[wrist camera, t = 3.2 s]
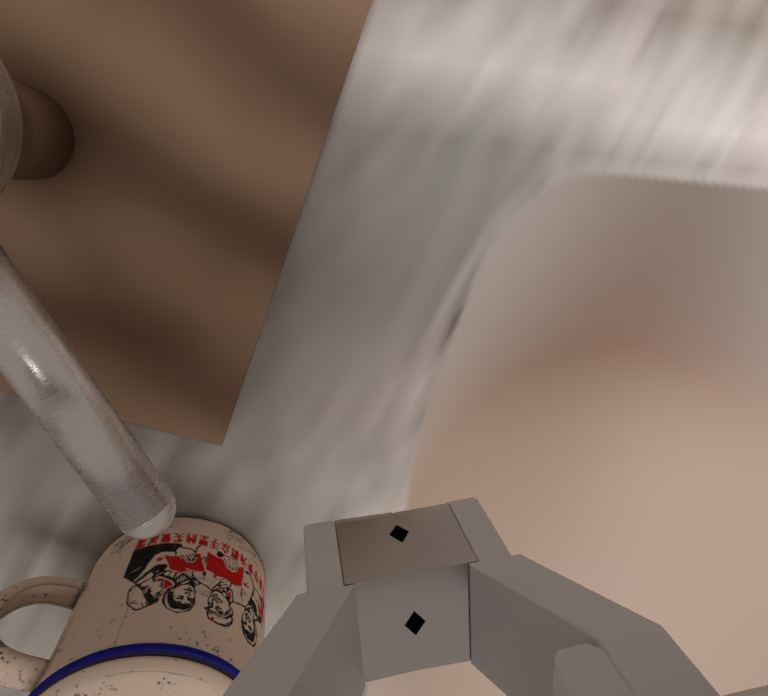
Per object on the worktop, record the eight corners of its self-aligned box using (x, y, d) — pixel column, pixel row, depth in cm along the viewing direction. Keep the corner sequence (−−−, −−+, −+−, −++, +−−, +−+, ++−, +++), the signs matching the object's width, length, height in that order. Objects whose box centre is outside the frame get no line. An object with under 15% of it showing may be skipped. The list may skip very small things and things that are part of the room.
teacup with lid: (301, 547, 29) (316, 771, 18) (220, 675, 30) (187, 954, 19) (75, 457, 25) (-82, 669, 14) (-6, 607, 27) (-205, 905, 16)
